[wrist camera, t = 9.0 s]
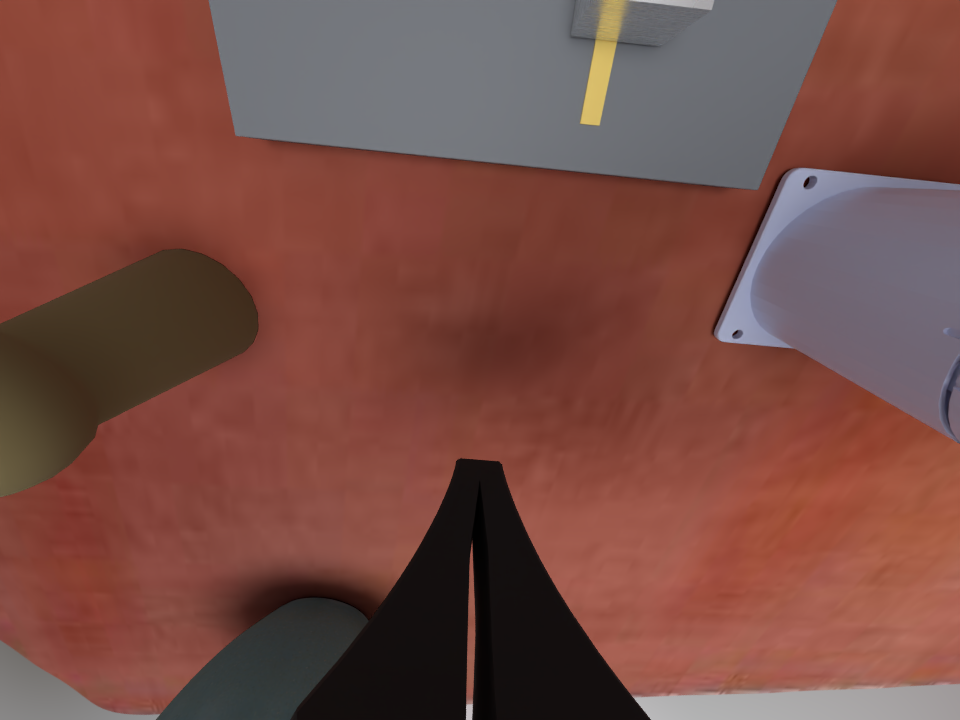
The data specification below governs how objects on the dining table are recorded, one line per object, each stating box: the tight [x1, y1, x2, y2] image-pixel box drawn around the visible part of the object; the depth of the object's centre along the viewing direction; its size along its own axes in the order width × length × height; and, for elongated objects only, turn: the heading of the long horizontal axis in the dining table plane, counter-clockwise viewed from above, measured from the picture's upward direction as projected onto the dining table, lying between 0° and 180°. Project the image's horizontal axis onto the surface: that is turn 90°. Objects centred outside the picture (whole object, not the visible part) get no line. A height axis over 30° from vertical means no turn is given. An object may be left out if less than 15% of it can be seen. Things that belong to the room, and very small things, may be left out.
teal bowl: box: [156, 598, 368, 720], centre depth 28 cm, size 18×18×12 cm
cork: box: [0, 249, 258, 497], centre depth 14 cm, size 6×6×11 cm
